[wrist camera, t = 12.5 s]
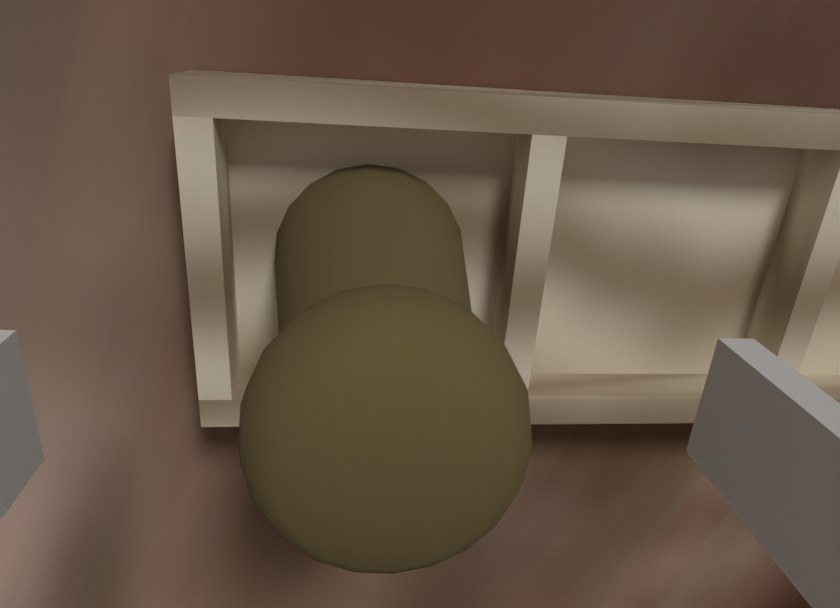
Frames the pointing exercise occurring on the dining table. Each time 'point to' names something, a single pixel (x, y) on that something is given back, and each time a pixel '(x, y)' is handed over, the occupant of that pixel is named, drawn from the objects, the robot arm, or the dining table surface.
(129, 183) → the dining table surface
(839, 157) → the tray
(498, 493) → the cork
